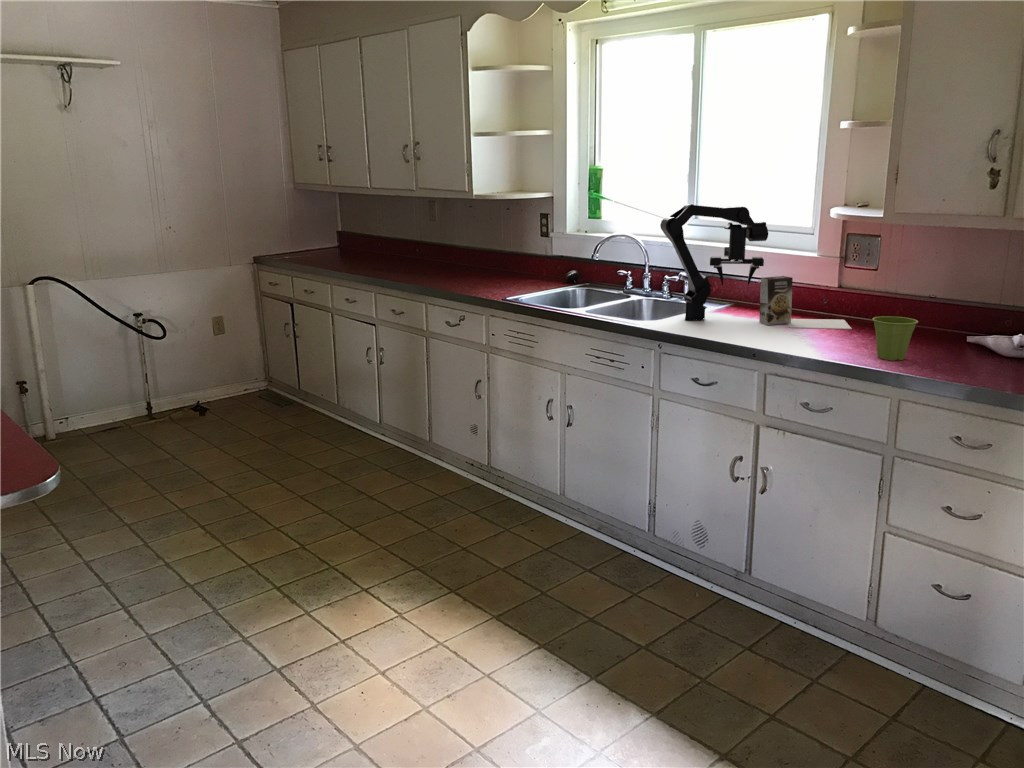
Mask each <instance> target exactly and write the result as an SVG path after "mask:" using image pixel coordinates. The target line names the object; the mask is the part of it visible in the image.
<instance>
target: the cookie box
mask: <svg viewBox="0 0 1024 768" xmlns="http://www.w3.org/2000/svg"><path fill="white" fill-rule="evenodd" d="M759 292H760V294H759V295H760V296H759V297H760V298H759V323H760V324H764V325H765V326H771V325H772V326H774V325H783V324H787V323H791V319H792V308H793V307H792V305H793V304H792V300H793V277H792V276H791V277H790V276H786V275H782V276H766V277H765V276H764V277H760V291H759Z"/></svg>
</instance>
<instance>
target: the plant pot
mask: <svg viewBox="0 0 1024 768" xmlns="http://www.w3.org/2000/svg"><path fill="white" fill-rule="evenodd" d="M872 321H873V323H874V324H873V325H874V329H875V339H876V340H875V341H876V356H877V358H880V359H881V360H884V361H885V360H886V361H887V360H888V361H897V360H898V361H903V360H905V358H906V357H907V356H906V355H907V353H908V348H909V346H910V342H911V338H912V335H913V332H914V331H915V328H916V325H917V324H919V320H917V319H914V318H909V317H905V316H904V317H903V316H891V315H890V316H889V315H887V316H886V315H885V316H883V315H882V316H874V317H872Z"/></svg>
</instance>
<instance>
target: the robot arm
mask: <svg viewBox="0 0 1024 768" xmlns="http://www.w3.org/2000/svg"><path fill="white" fill-rule="evenodd" d="M750 215H751V214H750V210H749V209H748V208H747V207H746V206H740V205H732V206H723V207H722V206H721V207H720V206H717V207H716V206H707V205H706V206H705V205H697V204H693V203H686V204H684V205H683V206H682V207H681V208H680V209H677V211H675V212H673V213H672V214H671V215H669V216H666V217H664V218H663V219H662V220H661V222H660V224H659V225H660V230H661V231H662V232H663V234H664V236H665V237H666V238H667V239H668V240H669V241H670V243H671V244H672V246H673V248H674V251H675V252H676V255H677V257H678V258H679V261H680V263H681V265H682V268H683V270H684V271H685V274H686V277H687V284H688V287H689V289H688V291H687V292H686V293H684V295H683V299H684V301H685V316H684V317H685V318H684V320H685V321H701V320H703V321H704V319H705V318H706V317H705V316H706V306H705V304H706V302H707V300H708V298H709V297H710V296H711V293H712V285H711V283H710V282H709V280H710V279H709V278H708V276H707V275H705V274H704V275H703V274H701V273H700V271H699V270H698V267H697V265H696V263H695V260H694V258H693V257H692V256H693V255H692V254H691V252H690V250H689V247H688V245H687V243H686V241H685V237H684V229H683V226H684V225H686V224H687V222H688V221H689V220H690V219H691V218H692V217H693V216H697V217H706V218H707V217H708V218H717V219H722V220H725V221H729V222H728V223H727V224H726V225H725V226H724V227H723V228H724V230H727V231H729V242H728V246H727V247H723V248H724V250H723V251H724V253H723V255H724V257H727V258H722V256H710V258H709V266H710V267H712V266H713V269H716V270H717V273H718V276H719V278H720V283H721V286H724V275H723V265H727V264H728V265H729V264H730V265H731V264H732V265H749V271H748V275H747V282H746V283H747V285H746V286H750V285H749V284H751V281H752V278H753V277H754V274H755V272H756V271H757V269H758V270H759V269H760V267H764V265H765V262H764V261H765V259H764V258H763V257H762V256H751V258H746V247H747V246H746V245H747V244H746V243H747V241H748V242H766V241H767V240H768V238H769V230H768V227H767V222H766V221H759V222H755V221H754V220H753V219H752V217H751V216H750ZM733 223H736V224H733ZM722 264H723V265H722Z"/></svg>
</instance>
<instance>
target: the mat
mask: <svg viewBox="0 0 1024 768" xmlns="http://www.w3.org/2000/svg"><path fill="white" fill-rule="evenodd" d="M786 324H787V326H788V328H789V329H816V330H817V329H819V330H821V329H822V330H824V329H825V330H852V329H853V328H852V327H851V326H850V325H849V324H848V322H847V321H846V320H845V319H834V318H833V319H829V318H826V319H825V318H824V319H822V318H819V319H818V318H791V323H786Z"/></svg>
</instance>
